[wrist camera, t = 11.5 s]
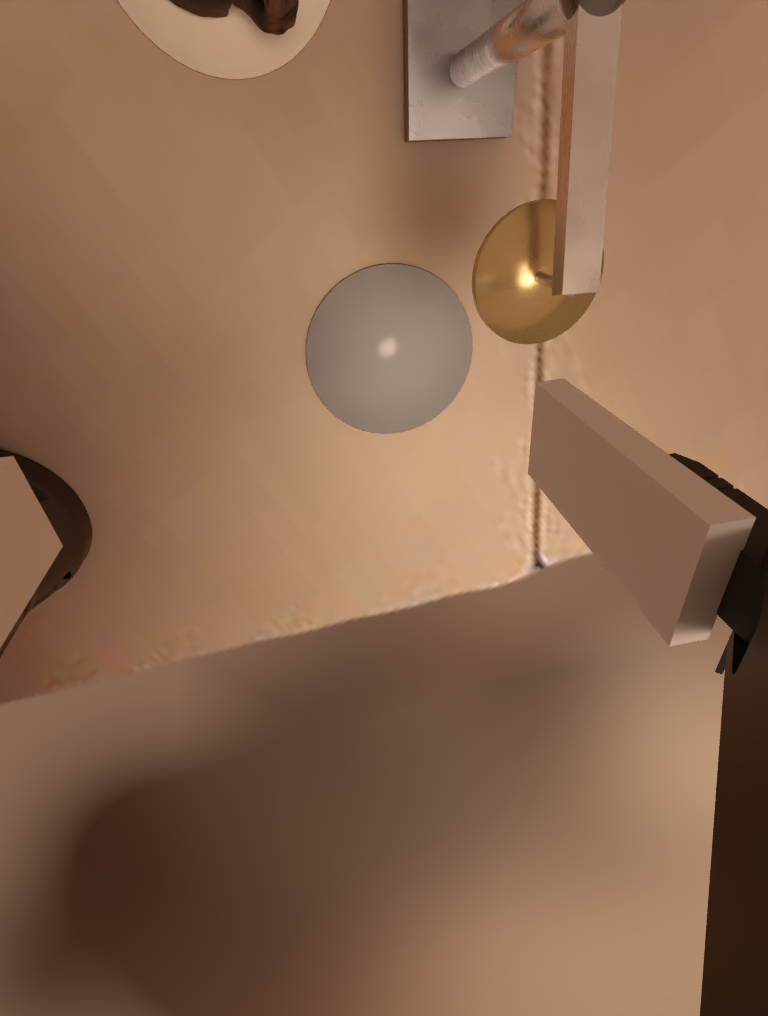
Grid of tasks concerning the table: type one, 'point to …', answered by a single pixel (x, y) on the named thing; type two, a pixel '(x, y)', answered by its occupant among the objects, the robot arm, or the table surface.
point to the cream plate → (224, 37)
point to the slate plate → (389, 348)
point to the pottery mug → (248, 11)
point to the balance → (489, 114)
